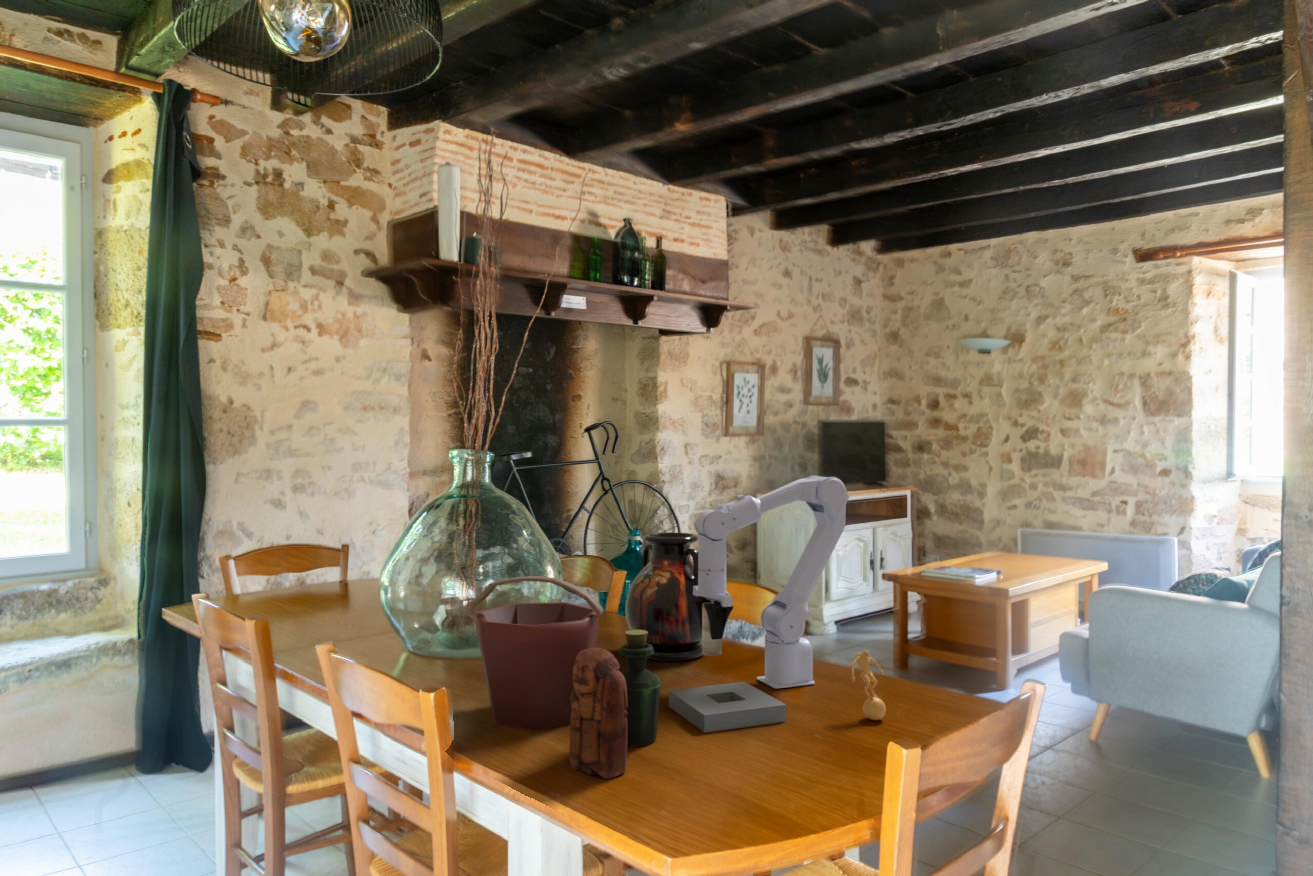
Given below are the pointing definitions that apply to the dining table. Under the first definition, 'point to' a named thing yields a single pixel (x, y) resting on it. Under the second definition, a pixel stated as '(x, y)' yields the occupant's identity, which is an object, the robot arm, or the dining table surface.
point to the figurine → (872, 705)
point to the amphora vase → (667, 597)
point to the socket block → (726, 706)
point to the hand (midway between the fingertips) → (711, 636)
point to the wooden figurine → (598, 715)
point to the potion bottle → (640, 690)
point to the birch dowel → (709, 637)
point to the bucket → (533, 654)
